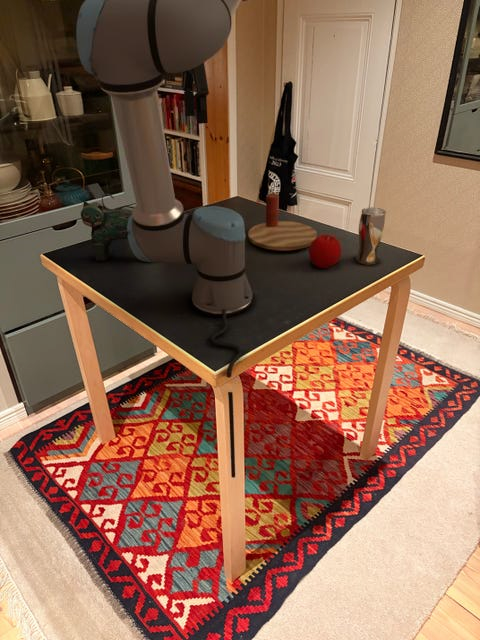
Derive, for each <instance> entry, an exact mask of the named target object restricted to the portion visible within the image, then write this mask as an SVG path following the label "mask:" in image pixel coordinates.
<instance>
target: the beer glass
mask: <svg viewBox="0 0 480 640" xmlns="http://www.w3.org/2000/svg"><path fill="white" fill-rule="evenodd" d="M360 212H361V213H360V216H359V223H358V251H357V255H356V257H355V261H356V262H357V263H359V264H361V265H365V266H372V265H376V264H377V263H378V251H379V247H380V243H381V240H382V238H383V236H384V235H383V234H384V231H385V225H386V213H387V211H386V210H385V209H383V208H379V207H372V206H371V207H365V208H364V207H363V208H362V209H361V211H360Z"/></svg>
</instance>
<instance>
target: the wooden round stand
mask: <svg viewBox="0 0 480 640" xmlns="http://www.w3.org/2000/svg"><path fill="white" fill-rule="evenodd" d="M265 199H266V200H265V201H266V202H265V222H262V223H259V224H256V225H254V226H252V227H251V228H250V229H249V230H248V233H247V237H248V240H249V242H251V243H252V244H253V245H255V246H257V247H259V248H262V249H266V250H270V251H271V250H272V251H295V250H302V249H306V248H308V247H310V245H311V243H312V242H313V241H314V240H315V239H316V238H317V237H318V232H317V231H316V229H314V227H312V226H309V225H308V224H304V223H301V222H298V221H297V222H296V221H290V220H289V221H288V220H279V202H280V201H279V199H280V195H279V194H277V193H267V194H266V197H265Z"/></svg>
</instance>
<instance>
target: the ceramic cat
mask: <svg viewBox="0 0 480 640" xmlns="http://www.w3.org/2000/svg"><path fill="white" fill-rule="evenodd" d="M105 196H109V197H110V198H112V199H113V200H114V199H115V197H114V196H113V195H112V194H110V193H104V194H102V196H101V202H97V201H94V202H91V203H89V202H87V201H83V203H82V210H81V211H80V217H81V221H82V223H83V224H84V225H85V226H87V227H89V228H91V233H90V236H91V241H92V249H93V253H94V258H95V261H96V262H97V261H99V262H105V261H107V260H108V259H109V257H111V253H110V245H111V242H112V241H116V240H128V231H127V225H128V220H129V218H130V216H131V215H132V212H133V209H134V208H135V207H136V206H131V205H123V206H120V207H116V208H109V207H107V206H106V205H105V202H104V200H103V199H104V197H105ZM143 262H145V263H147V262H146V261H143Z"/></svg>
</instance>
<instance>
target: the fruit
mask: <svg viewBox="0 0 480 640" xmlns="http://www.w3.org/2000/svg"><path fill="white" fill-rule="evenodd" d="M331 233H332V232H330V231H329V232H328V234H321V235H319V236H317V238H316V239H315V240H314V241H313V242H312V243H311V245H310V246H309V248H308V255H309V259H310V261H311V263H312V264H313V265H314V266H316V267H318V268H321V269H326V268H329V267H333V266H335V265H336V264H337V263H338V262H339V259H340V258H341V254H342V246H341V243H340V242H339V240H338V238H336V237H335V236H333V235H331Z"/></svg>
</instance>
